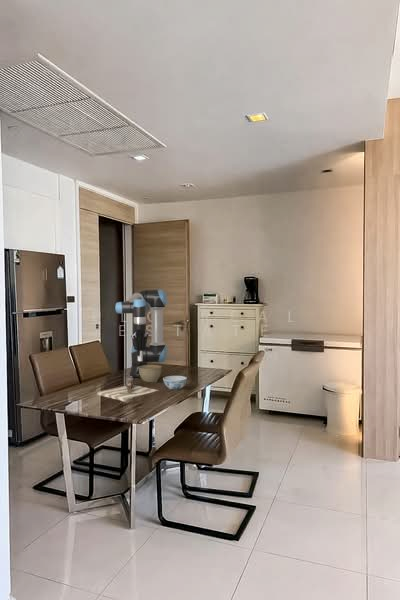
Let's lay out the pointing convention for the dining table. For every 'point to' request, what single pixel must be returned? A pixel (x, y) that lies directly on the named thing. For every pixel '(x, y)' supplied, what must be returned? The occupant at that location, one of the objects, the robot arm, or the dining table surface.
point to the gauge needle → (129, 383)
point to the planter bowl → (150, 372)
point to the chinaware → (174, 382)
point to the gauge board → (125, 392)
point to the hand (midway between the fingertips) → (140, 360)
